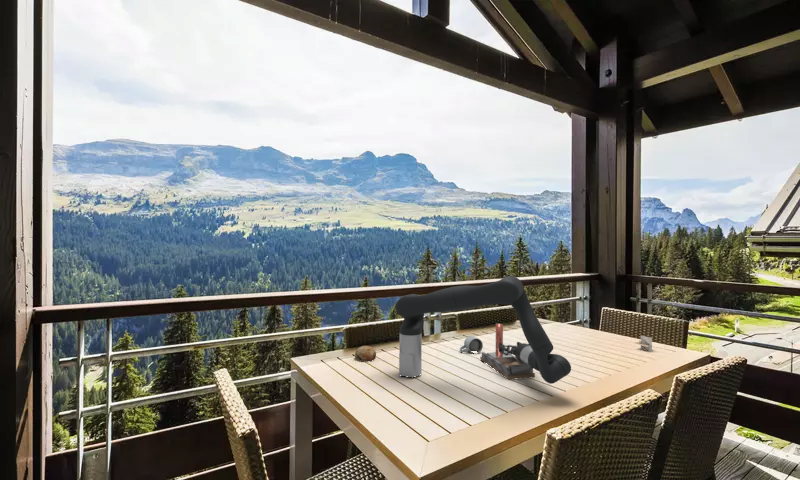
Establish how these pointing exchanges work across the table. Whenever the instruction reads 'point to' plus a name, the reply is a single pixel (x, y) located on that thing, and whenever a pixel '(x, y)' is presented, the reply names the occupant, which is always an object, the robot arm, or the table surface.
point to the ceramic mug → (472, 344)
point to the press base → (509, 367)
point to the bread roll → (365, 353)
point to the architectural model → (645, 343)
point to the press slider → (497, 354)
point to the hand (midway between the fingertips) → (508, 344)
